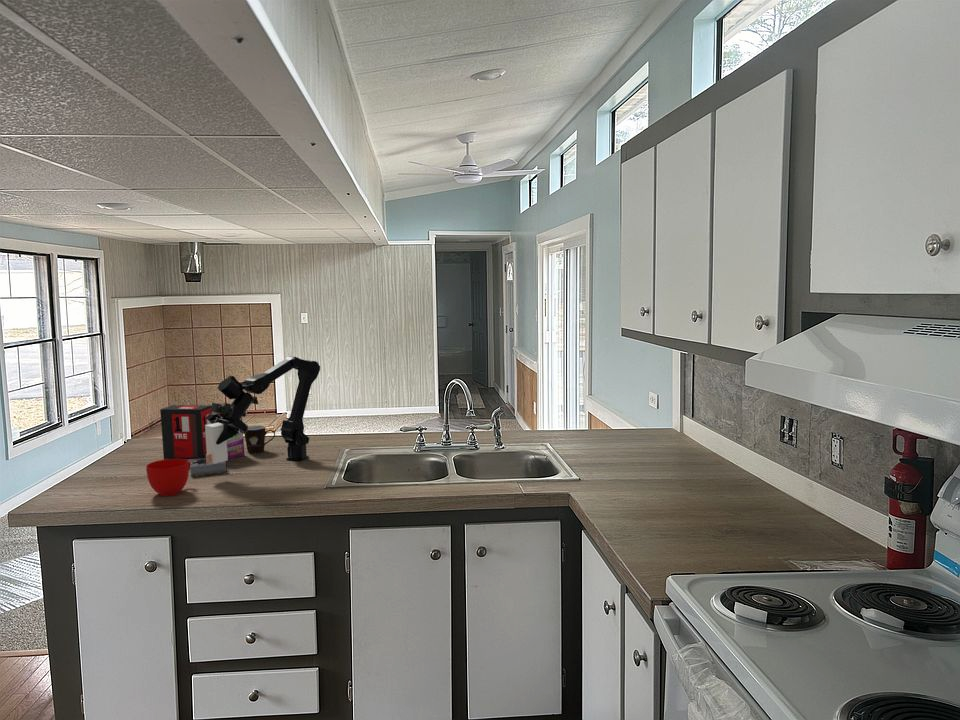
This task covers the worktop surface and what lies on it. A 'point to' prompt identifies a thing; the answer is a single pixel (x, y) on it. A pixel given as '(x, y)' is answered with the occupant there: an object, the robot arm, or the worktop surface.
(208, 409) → the cleaning product box
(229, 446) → the candy bar box
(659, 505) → the worktop surface
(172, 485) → the ceramic cup
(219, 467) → the keyed socket block
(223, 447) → the keyed peg
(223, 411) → the robot arm
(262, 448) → the coffee mug
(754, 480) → the worktop surface
